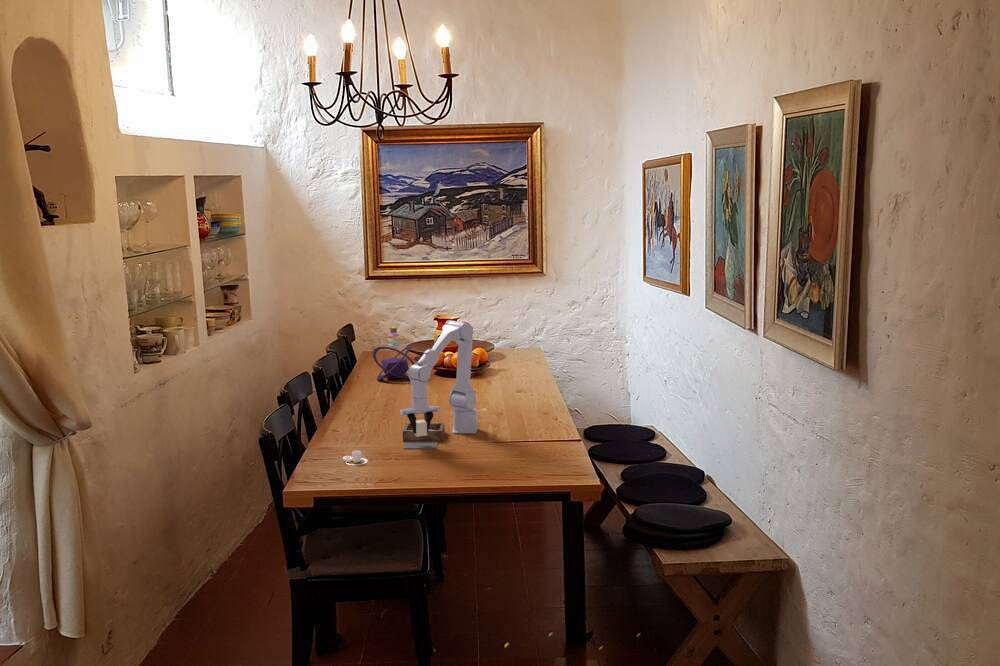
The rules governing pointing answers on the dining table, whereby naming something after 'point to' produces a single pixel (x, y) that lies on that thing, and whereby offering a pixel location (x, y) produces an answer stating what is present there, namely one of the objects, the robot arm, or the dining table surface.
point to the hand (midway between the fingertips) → (420, 432)
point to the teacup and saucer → (354, 458)
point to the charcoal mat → (420, 445)
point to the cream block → (421, 428)
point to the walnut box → (433, 433)
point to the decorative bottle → (394, 359)
